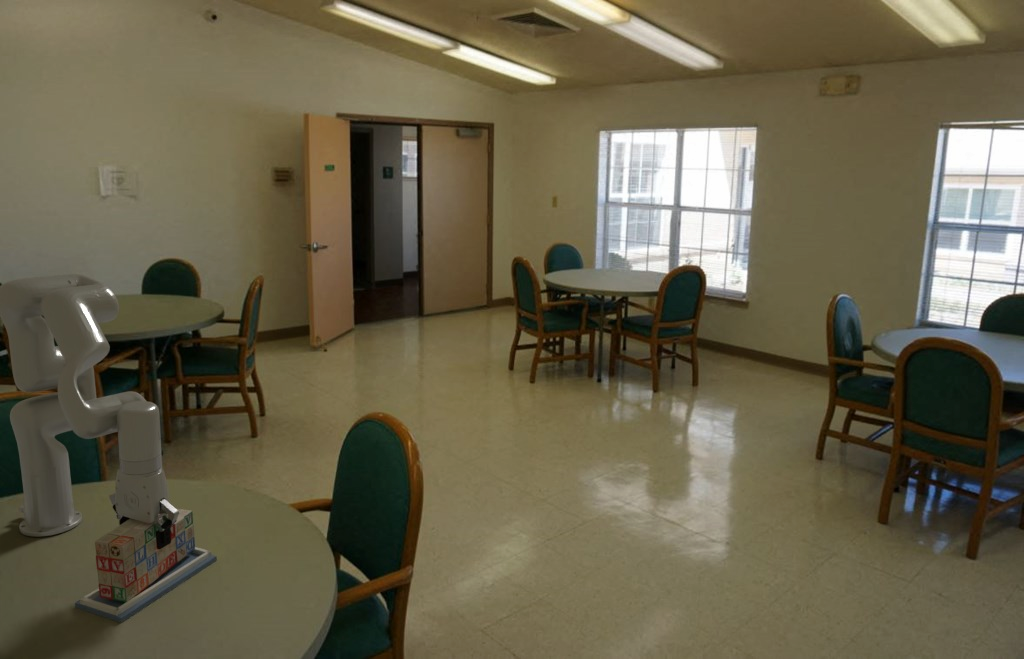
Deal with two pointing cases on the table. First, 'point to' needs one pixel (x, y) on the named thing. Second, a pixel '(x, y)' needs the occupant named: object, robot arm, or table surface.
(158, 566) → the stack of blocks
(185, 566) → the shallow rectangular tray
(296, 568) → the table surface
